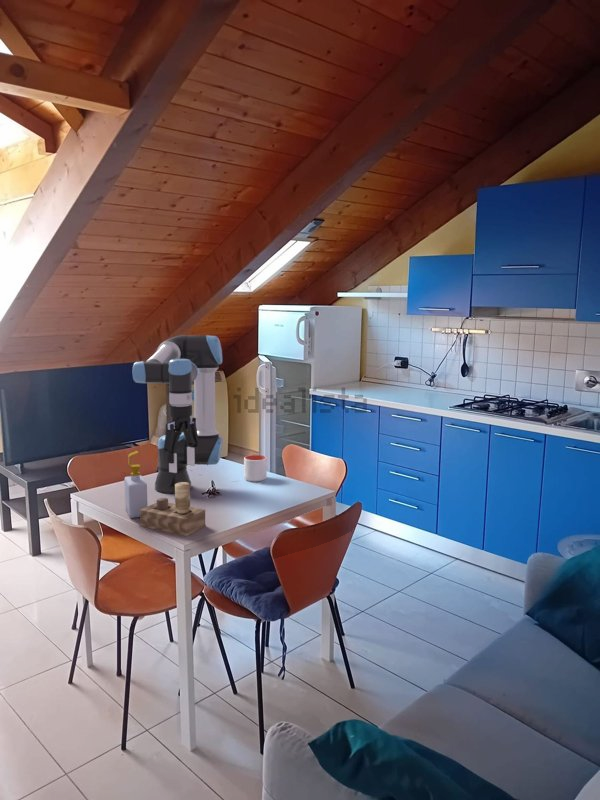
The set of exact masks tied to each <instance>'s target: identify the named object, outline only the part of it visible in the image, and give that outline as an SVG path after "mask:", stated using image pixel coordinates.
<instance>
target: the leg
mask: <svg viewBox="0 0 600 800" xmlns="http://www.w3.org/2000/svg"><path fill="white" fill-rule="evenodd" d="M190 489H191V488H190V484H189V483H187V482H179V483H176V484H175V493H174V496H175V498H174V499H175V503H174V504H176V508H177V514H181V515H186V514H188V513H189V507H191V494H190V493H191V490H190Z"/></svg>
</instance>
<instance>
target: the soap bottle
mask: <svg viewBox="0 0 600 800" xmlns="http://www.w3.org/2000/svg"><path fill="white" fill-rule="evenodd" d="M138 454H139V451H138V450H135V451H133V452H130V453H129V454H128V455H127V462H128V463H127V464H128V467H130V470H132V472H130V476H125V477H124V502H125V503H124V505H125V506H124V507H125V509H126V511H127V513H128V514H127V515H128V516H129V518H131V519H135V518H140V510H141V509H143V508H146V507H148V506H149V505H148V483H147V482H146V480H145V479H144V477H143V475H141V472H140V471H138V470H139V469H140V468H141V465H140V464H131V457H133V456H136V455H138Z"/></svg>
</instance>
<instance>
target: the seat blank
mask: <svg viewBox="0 0 600 800" xmlns="http://www.w3.org/2000/svg"><path fill="white" fill-rule="evenodd" d="M139 518H140V520H139V521H140V527H143V528H148V529H153V530H157V531H161V532H167V533H170V534H176V535H179V536H184V537H188V536H190V535H191V534H194V533H196V532H197V531H199V530H201V529H203V528H205V527H206V509H204V508H199V507H193V506H190V507H189V513H188V514H186V515H181V514H177V508H176V504H175V503H174V502H173V503H172V502H169V499H168V498H166V497H159V498H157V499H156V502H155V503H153V504H151V505H150V504H149V505H148V507H146V508H143V509H141V510H140V517H139Z"/></svg>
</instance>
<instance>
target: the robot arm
mask: <svg viewBox="0 0 600 800" xmlns="http://www.w3.org/2000/svg"><path fill="white" fill-rule="evenodd" d="M221 345H222V344H221V341H220V339H219V337H218V336H216V335H208V334H207V335H200V334H199V335H194V334H191V335H190V334H189V335H185V334H182V335H175V336H172V337H170V338H168V339H165V340H164V341H163V342H161V343H160V344H159V346H158V347H157V349H156V351H155V352H154V354H153V355H152V356H150V357H149V358H148V359H147V360H146V361H143V360H142V361H135V362H134V363H133V365H132V373H131V374H132V379H133V381H134V382H135V383H136V384H137V383H138V384H168V385H169V387H168V388H169V391H168V392H169V393H168V395H169V402H168V403H169V404H170V406H169V416H170V417H171V419H172V420H171V423H166V424H165V430H166V431H165V434H163V435H162V436H160V437H159V438H158V441H157V443H158V444H157V451H158V452H157V455H158V457H157V458H158V472H157V475H156V479H155V483H154V489H155V491H157V492H159V493H166V494H175V484H176V483H179V482H187V483H189V484H190V489H191V488H192V481H191V479H190V475H189V472H188V469H187V468H188V467H187V466H192V467H195V466H196V465H206V466H208V465H209V466H210V465H218V463H219V462H220V460H221V456H222V451H223V440H224V439H223V437H221V436H220V434H219V433H220V432H219V431H218V430H217V429H216V372H217V370H218V369H219V365H222V364H223V348H222V346H221ZM192 383H193V384H194V385H192ZM192 387H194V390H192V389H193V388H192ZM193 393H194V394H193ZM192 395H194V396H192ZM193 397H194V398H193ZM192 398H193V399H194V400H193V399H192ZM193 401H194V402H193ZM192 403H193V405H194V406H193V405H192ZM193 407H194V409H193ZM193 411H194V416H193ZM192 416H193V417H192Z"/></svg>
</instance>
